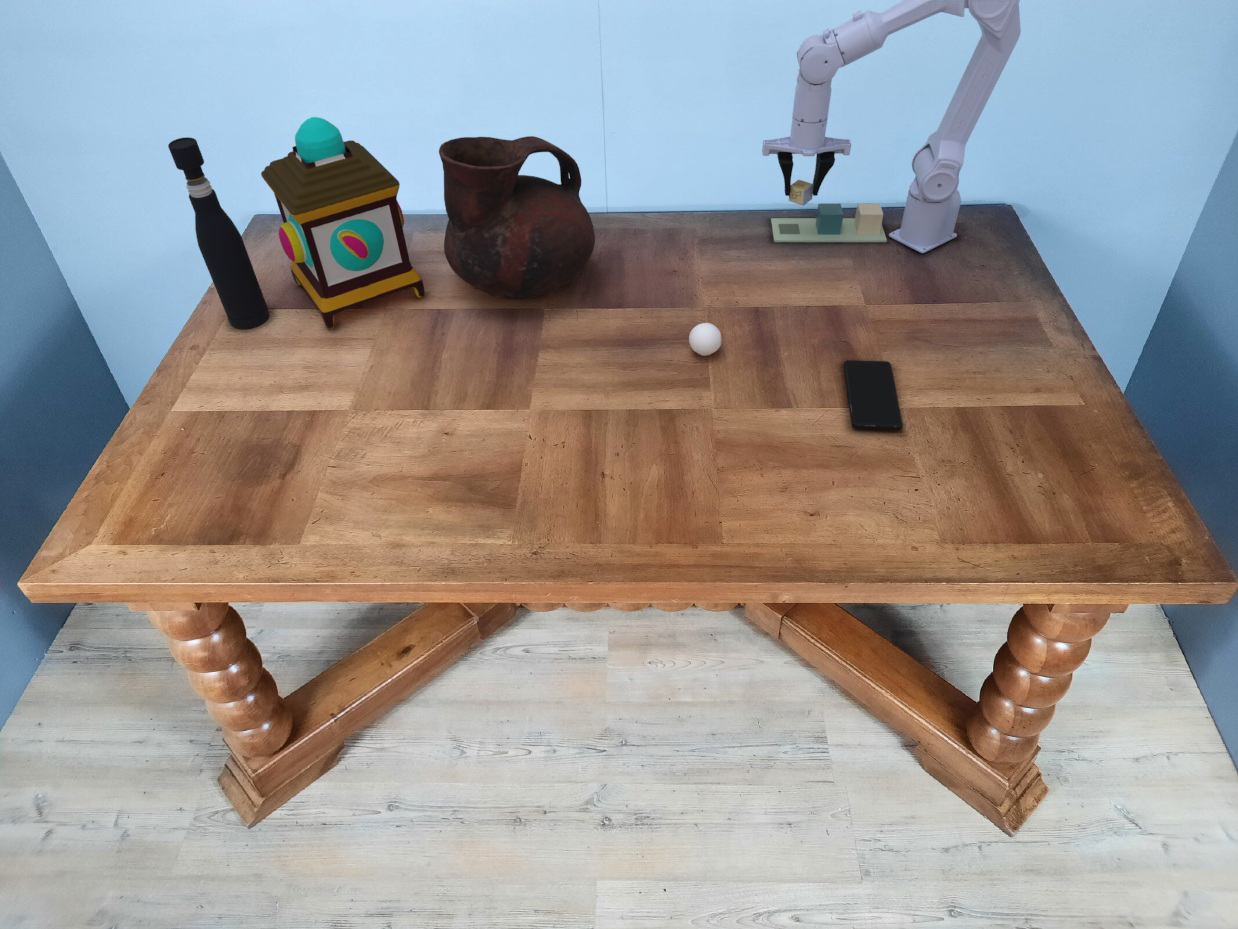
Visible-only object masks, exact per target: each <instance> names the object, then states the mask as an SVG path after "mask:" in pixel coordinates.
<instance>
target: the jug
mask: <svg viewBox="0 0 1238 929" xmlns="http://www.w3.org/2000/svg"><path fill="white" fill-rule="evenodd" d="M538 153H550V154H551V155H552V156H553V157H554V158H556V160H557V163H558V165H559V176H560V178H559V179H560V183H556V182H554V181H551V180H549V179H546V178H542V177H540V176H534V175H527V174H519V173H520V171H521V169H522V167H523V165H524V164H525V162H526V160H527V159H528V158H529V157H530V156H531V155H532V154H538ZM438 154H439V158H440V160H441V164H442V170H443V201H444V208H445V212H446V215H447V218H448V221H447V224H446V229H445V233H444V240H443V251H444V256H445V259H446V260H447V263H448V265H449V266H450V268H451V270H452V271H453V272H454V274H455V275H457V277H458V278H460V279H461V280H462V281H463V282H465V283H466V284H467V285H468V286H470V287H472V288H473V289H475V290H477V291H479V292H481V293H483V294H486V295H488V296H491V297H497V298H502V299H509V300H521V299H522V300H523V299H531V298H536V297H540V296H543V295H546V294H549V293H551V292H554V291H556V290H558V289H560V288H562V287H564V286H565V285H567V284H568V283H569V282H571V281H572V280H573V279H574V278H576V277H577V276H578V275H579V274H580V273H581V272H582V271H583V270H584V268H585V267H586V265H587V264H588V263H589V262H590V258H591V256H592V254H593V253H594V248H595V244H596V235H595V228H594V224H593V221H592V218H591V216H590V213H589V212H588V210H587V208H586V206H585V205H584V204H583V202H582V200H581V197H580V191H581V188H582V176H581V170H580V167H579V165H578V163H577V161H576V159H574V158H573V157H572V156H571V155H570V154H569V153H567V152H566V151H564V150H563V148H560V147H559V146H557V145H555V144H553V143H551V142H549V141H547V140H545V139H543V138H540V137H538V136H534V135H529V136H523V137H519V138H515V139H511V140H510V139H503V138H498V137H491V136H464V137H457V138H451V139H449V140H447V141H445V142H443V143H442V144H440V146H439V148H438Z"/></svg>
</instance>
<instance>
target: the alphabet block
mask: <svg viewBox="0 0 1238 929" xmlns="http://www.w3.org/2000/svg"><path fill="white" fill-rule="evenodd" d="M813 187H814V184H813V182H812V183H811V182H808V181H806V180H802V179H797V180H796V181H795V182H793V183H791V187H790V196H788V202H791V203H794V204H797V205H800V206H802V207H803V206H805V205H807V204H808V203H809V202H811V201H812V200H813V197H814V196H813Z"/></svg>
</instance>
